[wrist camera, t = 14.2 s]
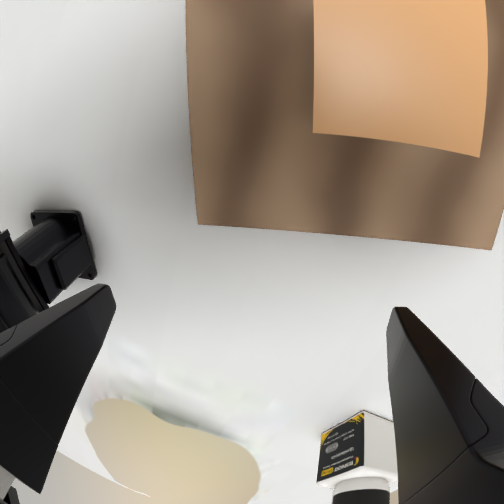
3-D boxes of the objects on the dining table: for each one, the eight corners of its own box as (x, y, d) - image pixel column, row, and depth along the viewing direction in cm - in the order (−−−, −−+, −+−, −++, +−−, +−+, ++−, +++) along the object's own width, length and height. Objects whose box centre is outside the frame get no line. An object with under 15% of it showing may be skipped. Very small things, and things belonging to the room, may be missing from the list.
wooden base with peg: (202, 217, 21) (149, 287, 15) (192, -68, 11) (128, -120, 5) (485, 243, 18) (537, 316, 11) (505, -32, 8) (572, -57, 1)
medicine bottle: (363, 408, 29) (360, 514, 19) (404, 425, 30) (408, 517, 20) (320, 433, 33) (309, 524, 22) (362, 447, 33) (357, 530, 23)
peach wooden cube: (314, 115, 14) (312, 132, 9) (314, 4, 11) (311, -38, 6) (426, 129, 13) (479, 157, 8) (430, 21, 10) (484, -2, 5)
